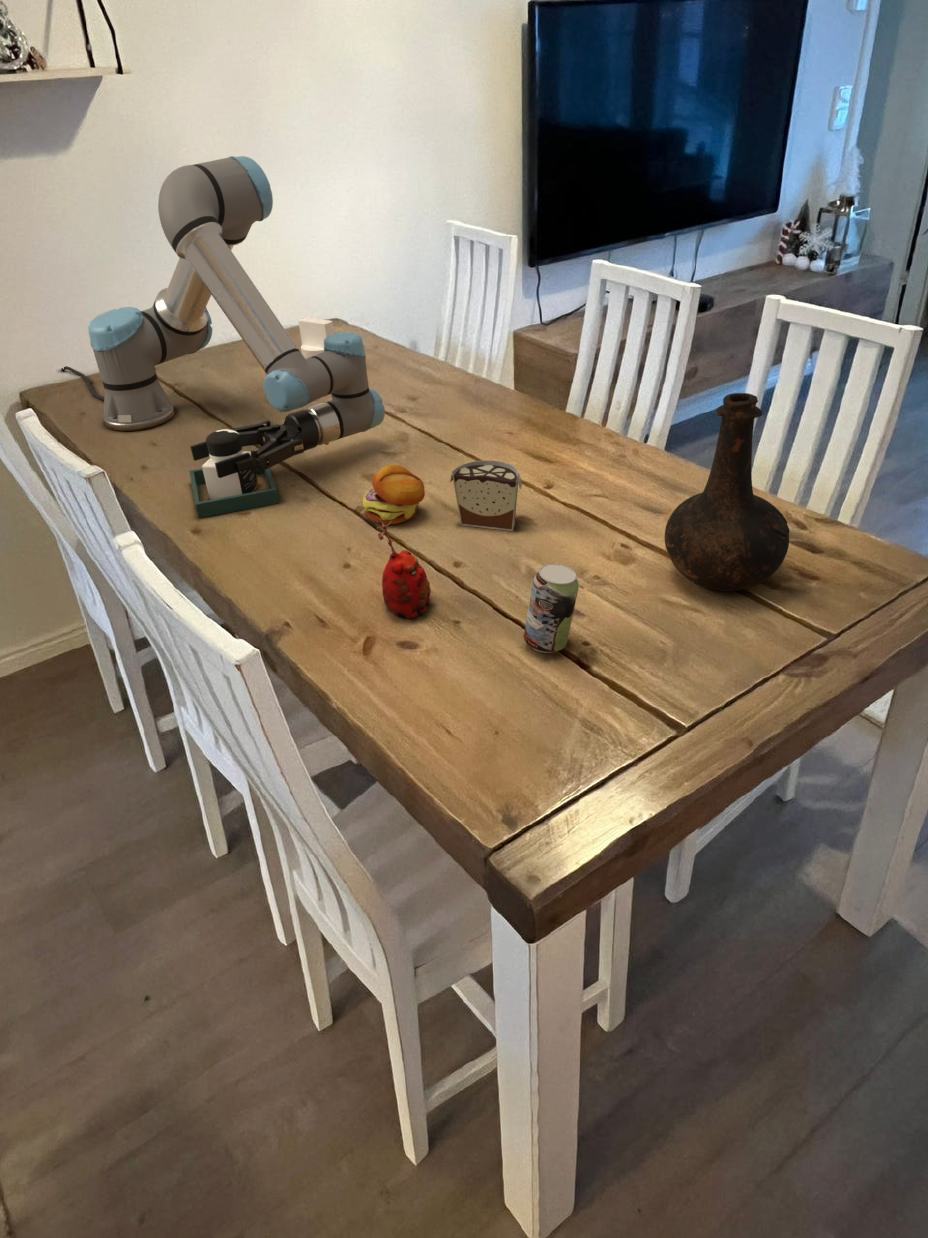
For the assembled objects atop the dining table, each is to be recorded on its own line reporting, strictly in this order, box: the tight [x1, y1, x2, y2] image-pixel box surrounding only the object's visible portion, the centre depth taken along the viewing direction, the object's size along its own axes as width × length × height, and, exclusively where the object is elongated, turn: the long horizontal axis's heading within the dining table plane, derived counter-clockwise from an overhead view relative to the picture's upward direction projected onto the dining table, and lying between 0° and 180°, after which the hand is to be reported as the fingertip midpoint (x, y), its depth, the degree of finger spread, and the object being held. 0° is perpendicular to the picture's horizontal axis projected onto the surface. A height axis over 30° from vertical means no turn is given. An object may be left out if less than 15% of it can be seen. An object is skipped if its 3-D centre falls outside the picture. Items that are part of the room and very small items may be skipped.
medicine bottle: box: [201, 428, 259, 500], centre depth 168 cm, size 7×7×12 cm
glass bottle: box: [664, 392, 790, 592], centre depth 130 cm, size 18×18×28 cm
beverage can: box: [523, 563, 580, 654], centre depth 122 cm, size 6×7×12 cm
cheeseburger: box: [362, 463, 426, 525], centre depth 158 cm, size 10×11×10 cm
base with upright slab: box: [298, 317, 335, 359], centre depth 225 cm, size 9×9×12 cm
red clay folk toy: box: [376, 519, 432, 620], centre depth 131 cm, size 8×7×15 cm
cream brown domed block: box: [449, 459, 523, 532], centre depth 154 cm, size 12×6×10 cm, turn 71°
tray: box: [189, 467, 280, 519], centre depth 170 cm, size 16×15×3 cm
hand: (204, 461), depth 164 cm, fingers closed on medicine bottle, 10 cm apart
